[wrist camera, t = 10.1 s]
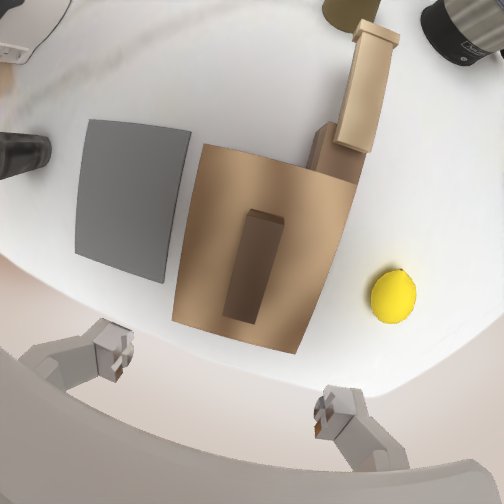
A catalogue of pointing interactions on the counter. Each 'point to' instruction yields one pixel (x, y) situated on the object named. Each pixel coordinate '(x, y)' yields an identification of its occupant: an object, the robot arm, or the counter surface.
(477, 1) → the milk frother
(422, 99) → the counter surface
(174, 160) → the mat
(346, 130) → the light wooden bar
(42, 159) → the beverage cup
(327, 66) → the counter surface
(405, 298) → the lemon
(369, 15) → the olive chess pawn
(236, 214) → the lid
